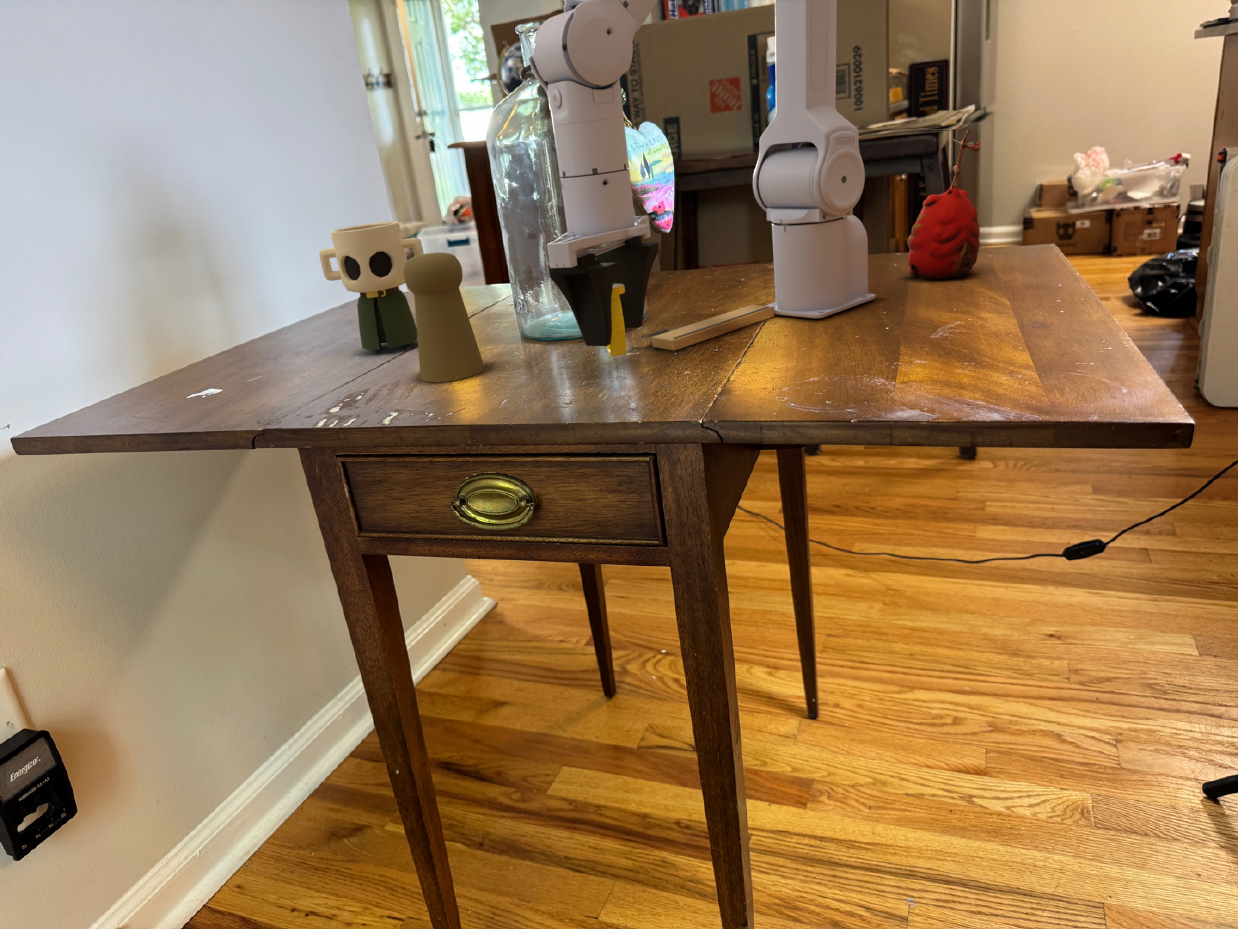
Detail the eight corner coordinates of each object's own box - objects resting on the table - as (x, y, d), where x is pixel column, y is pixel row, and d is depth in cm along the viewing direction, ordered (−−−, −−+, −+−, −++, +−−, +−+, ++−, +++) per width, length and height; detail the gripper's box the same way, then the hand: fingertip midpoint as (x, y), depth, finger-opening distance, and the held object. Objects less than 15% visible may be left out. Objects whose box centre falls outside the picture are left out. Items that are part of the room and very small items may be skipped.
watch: (636, 359, 72) (628, 289, 70) (604, 364, 72) (595, 294, 70) (628, 343, 78) (620, 278, 75) (598, 348, 78) (589, 283, 75)
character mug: (334, 361, 90) (302, 237, 85) (352, 345, 96) (323, 229, 92) (435, 349, 90) (409, 223, 85) (446, 334, 96) (423, 216, 91)
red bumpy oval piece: (945, 266, 98) (949, 128, 92) (994, 272, 92) (1001, 124, 86) (894, 278, 95) (894, 136, 90) (941, 285, 89) (944, 133, 83)
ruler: (752, 314, 87) (751, 303, 87) (774, 316, 85) (774, 305, 85) (652, 347, 79) (651, 336, 79) (674, 350, 77) (673, 339, 77)
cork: (471, 380, 76) (447, 256, 72) (409, 384, 77) (383, 262, 73) (493, 361, 81) (472, 245, 77) (435, 365, 83) (412, 251, 79)
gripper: (595, 178, 61) (617, 359, 66) (674, 160, 73) (688, 315, 78) (514, 186, 65) (541, 358, 70) (603, 168, 76) (621, 316, 81)
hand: (614, 335), depth 74 cm, fingers closed on watch, 5 cm apart
